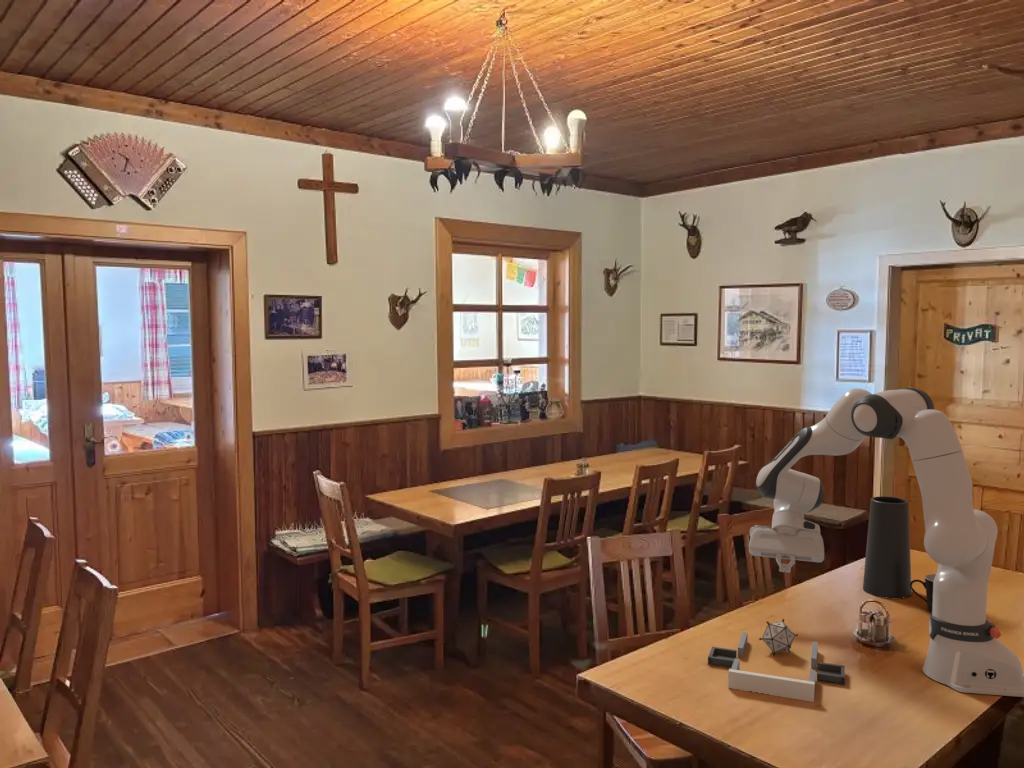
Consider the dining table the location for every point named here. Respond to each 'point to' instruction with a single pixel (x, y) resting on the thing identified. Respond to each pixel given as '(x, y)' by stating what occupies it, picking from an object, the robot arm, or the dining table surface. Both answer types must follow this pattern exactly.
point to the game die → (778, 637)
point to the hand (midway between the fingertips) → (784, 571)
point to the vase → (888, 549)
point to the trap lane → (774, 683)
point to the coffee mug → (929, 590)
